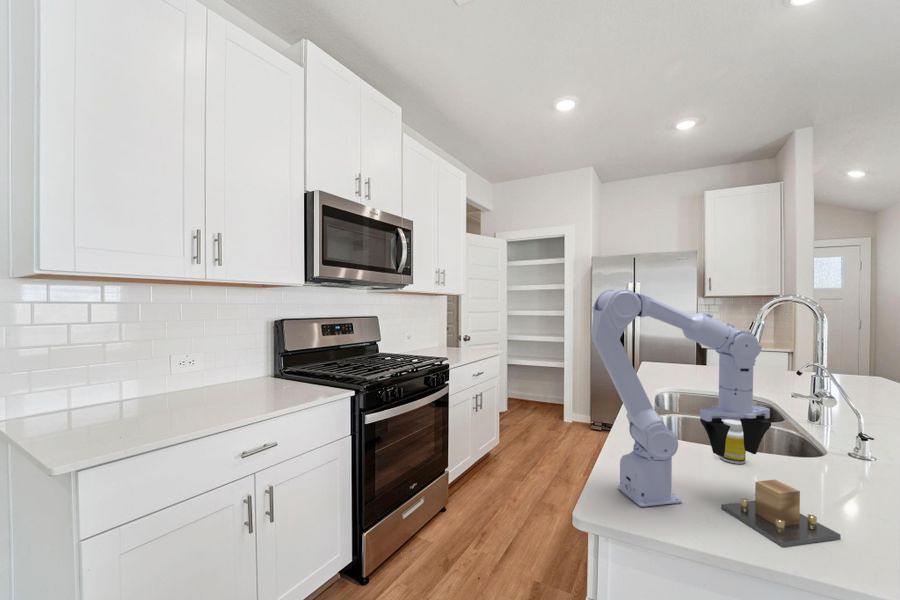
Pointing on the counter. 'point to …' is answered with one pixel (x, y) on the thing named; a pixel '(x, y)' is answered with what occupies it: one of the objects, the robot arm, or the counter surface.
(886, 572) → the counter surface
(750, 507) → the plate
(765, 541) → the counter surface
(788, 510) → the oak block
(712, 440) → the robot arm
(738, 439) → the supplement bottle
